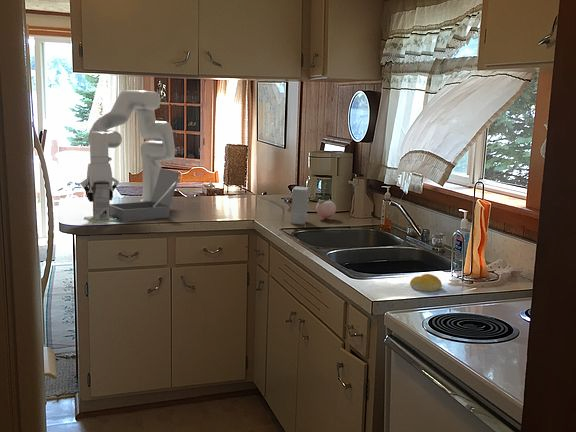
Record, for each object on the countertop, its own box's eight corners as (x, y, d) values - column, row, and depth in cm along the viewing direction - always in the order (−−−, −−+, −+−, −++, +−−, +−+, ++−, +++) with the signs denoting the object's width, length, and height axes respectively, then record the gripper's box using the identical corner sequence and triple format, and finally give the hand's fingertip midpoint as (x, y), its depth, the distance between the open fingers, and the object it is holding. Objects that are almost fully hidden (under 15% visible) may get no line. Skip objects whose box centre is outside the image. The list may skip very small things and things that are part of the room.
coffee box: (92, 216, 280) (92, 180, 278) (107, 216, 283) (107, 180, 280) (94, 219, 272) (94, 182, 270) (110, 219, 275) (109, 182, 272)
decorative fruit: (324, 221, 287) (324, 199, 285) (312, 218, 294) (313, 197, 292) (339, 220, 292) (340, 198, 291) (328, 217, 299) (329, 196, 297)
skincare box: (292, 220, 288) (293, 185, 285) (308, 221, 287) (309, 186, 284) (289, 223, 280) (290, 188, 277) (305, 224, 279) (306, 189, 276)
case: (107, 215, 288) (106, 170, 285) (162, 210, 305) (162, 168, 301) (124, 222, 273) (123, 175, 270) (181, 216, 290) (181, 172, 286)
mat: (84, 218, 280) (84, 216, 279) (106, 216, 286) (106, 215, 285) (95, 223, 269) (95, 221, 269) (117, 221, 275) (117, 219, 275)
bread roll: (404, 287, 187) (405, 274, 186) (424, 283, 192) (425, 270, 191) (426, 294, 180) (427, 280, 180) (446, 289, 186) (447, 276, 185)
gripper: (115, 159, 281) (116, 198, 284) (76, 160, 271) (77, 201, 274) (122, 160, 275) (123, 200, 278) (82, 162, 265) (83, 203, 268)
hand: (100, 200), depth 276 cm, fingers open, 8 cm apart
